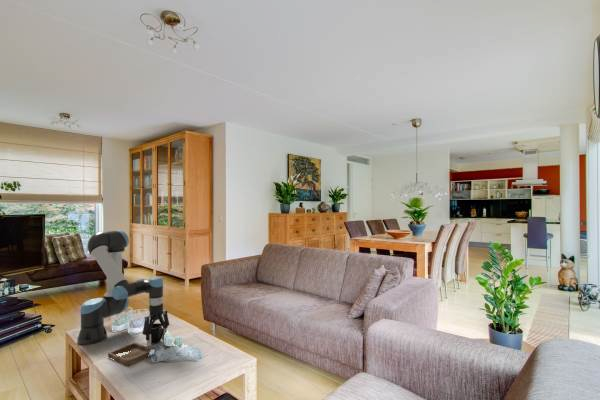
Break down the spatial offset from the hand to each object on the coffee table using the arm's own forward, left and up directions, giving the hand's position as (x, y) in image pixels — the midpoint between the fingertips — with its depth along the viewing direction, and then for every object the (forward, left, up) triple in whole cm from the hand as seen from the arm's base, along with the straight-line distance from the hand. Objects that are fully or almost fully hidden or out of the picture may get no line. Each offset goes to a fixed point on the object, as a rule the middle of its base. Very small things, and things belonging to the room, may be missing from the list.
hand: (156, 342), depth 185 cm
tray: (+3, -17, 0) cm, 17 cm away
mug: (0, 0, 0) cm, 0 cm away
